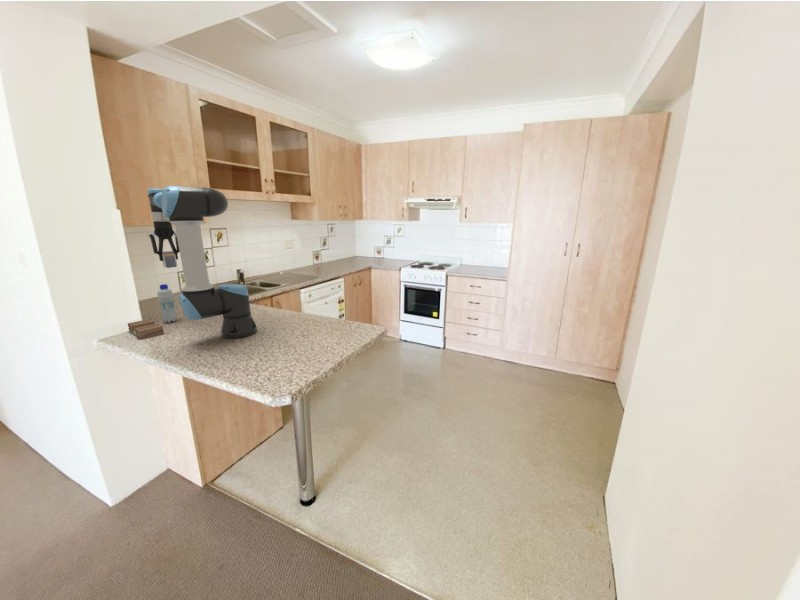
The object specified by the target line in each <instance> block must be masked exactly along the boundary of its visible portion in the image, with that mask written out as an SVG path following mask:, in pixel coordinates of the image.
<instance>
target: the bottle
mask: <svg viewBox="0 0 800 600" xmlns="http://www.w3.org/2000/svg"><path fill="white" fill-rule="evenodd" d="M157 299H158V302H159V307H160V310H161V318H162V321H163V322H164V323H165V324H167V323H169V324H171V322H172V323H175V322H177V321H178V316H177V311H176V307H175V301H174V293H173V291H172V289H170V288H169V285H168V284H167V283H165V284H164V283H163V284H160V285H159V290H158V291H157Z"/></svg>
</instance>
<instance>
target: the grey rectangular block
mask: <svg viewBox="0 0 800 600" xmlns="http://www.w3.org/2000/svg"><path fill="white" fill-rule="evenodd" d="M163 254H164V255H165V261H166V266H167V267H165V268H167V269H171V268H177V266H176V263H175V257H174V252H173V251H172V250H167V251H163Z"/></svg>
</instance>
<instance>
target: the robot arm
mask: <svg viewBox="0 0 800 600" xmlns="http://www.w3.org/2000/svg"><path fill="white" fill-rule="evenodd" d="M147 197H148V201H149V206H150V212H151V217H152V220H153V229H154V231H153V232H152V233H149V234H147V236H148V237H149V239H150V241H151V246H152V250H153V253H154V254H156V255H158V258H159V261H160V262H162V267H163V268H166V267H167V266H166V261H165V255H164V254H163V252H164V241H165V240H167V241H168V243H169V246H170V248H171V251H173V252H174V257H175V263H176V267H178V264H177V263H178V262H177V260H178V259H179V257H180V261H181V268H182V273H183V279H184V283H185V285H184V286H183V287H182V289H181V291H182V292H181V293H180V294H178V301H179V305H180V307H181V310H182V313H183V314H184V315H185V317H186V319H188V320H189V321H197V320H204V319H208V318H213V317H217V316H222V320H223V321H222V324H221V329H220V334H221V337H222V338H224V339H242V338H246V337H249V336H252V335H254V334H257V332H258V329H257V328H258V326H257V324H256V322H255V320H254V318H253V316H252V312H251V305H250V295H249V290H248V287H247V286H246V285H243V284H240V283H239V284H237V283H225V284H219V285H218V288H217V289H215V286H214V285H213V284H212V283H210V279H209V274H208V273H209V272H208V267H207V260H206V254H205V249H204V248H205V247H204V242H203V236H202V230H201V225H202V224H204V221H205V220H204V218H209V217H210V218H211V217H218V216H220V215H222V214H224V213H225V212H226V211H227V210H228V206H229V200H228V198H227V197H226V195H225V194H224V193H222V192H221V191H219V190H217V189H214V188H211V187H200V186H185V185H184V186H182V185H172V186H171V185H168V186H165V187H163V188H147ZM173 226H174V228H175V231H174V230H173ZM173 235H174V239H175V244H174V241H173ZM156 237H157V238H158V246H157V243H156V242H157V241H156ZM178 253H179V256H178Z"/></svg>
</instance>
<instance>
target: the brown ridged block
mask: <svg viewBox="0 0 800 600" xmlns="http://www.w3.org/2000/svg"><path fill="white" fill-rule="evenodd" d="M127 323H128V324H127V327H129V328H128V331H129V330H130V331H129V333H130V334H132V335H133V336H135V337H137V339H138V340H145V339H150V338H154V337H158V336H162V335H164V334H165V331H164V328H163V325H161V324H160V323H155V321H154V319H151V318H147V319H142V320H138V321H133V322H132V321H131V322H127ZM153 336H154V337H153Z"/></svg>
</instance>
